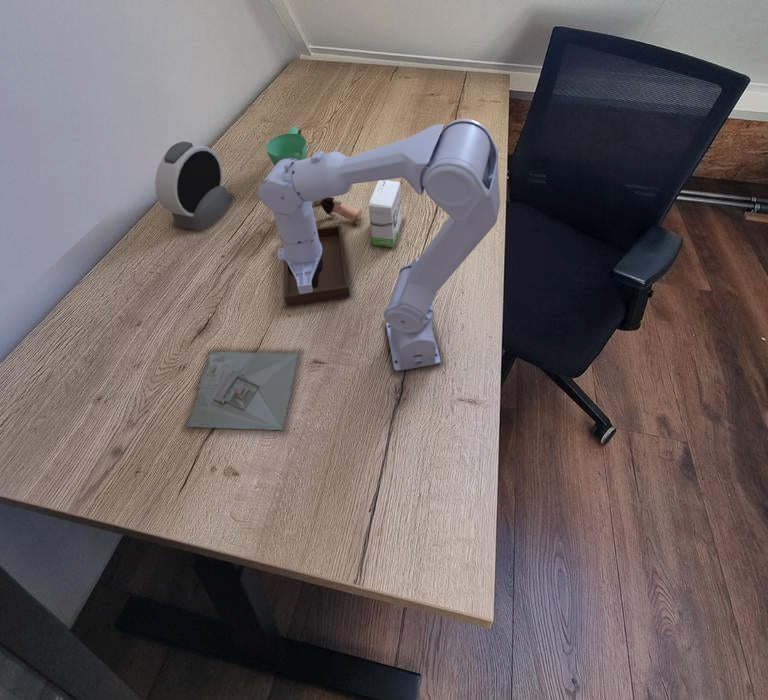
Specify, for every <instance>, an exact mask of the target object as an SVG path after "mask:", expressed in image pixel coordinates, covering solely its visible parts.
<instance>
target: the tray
mask: <svg viewBox="0 0 768 700" xmlns="http://www.w3.org/2000/svg"><path fill="white" fill-rule="evenodd" d="M317 232H318V237H319V241H320V243H321V245H322V258H321V259H323V269H322V271H321V272H320V274H319V283H318V287H317V288H312V289H313V292H310V293H303V294H299V290H298V287H297V281H296V279H295V277H294V276H291V275H290V274H289V271H288V263H287V262H286V260H283V298H284V301H285V305H286V307H292V306H299V305H304V304H305V305H306V304H311V303H317V302H324V301H330V300H336V299H342V298H348V297H349V298H350V297H351V294H350V293H351V292H350V285H349V278H348V270H347V269H348V268H347V261H346V253H345V246H344V238H343V230H342V225H341V224H335V225H328V226H321V227H317Z"/></svg>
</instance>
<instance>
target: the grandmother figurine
mask: <svg viewBox="0 0 768 700" xmlns="http://www.w3.org/2000/svg"><path fill="white" fill-rule="evenodd" d="M311 203H312V207H315V206H317V205H318V206H319V205H320V206H321V207H322V209H323V211H324V212H325V214H326V215H329V216H330V217H332V218H334V217H336V214H338V215H339V216H341V217H343V218H346V219H347V220H349V221H351V222H354V224H355V226H357V225H358V224H359V221H360V220H361V218H362V215H363V213H364V211H365V209H364V208H361V209H358V208H355V207H352V206H350V205H347V204H346V205H345V204H343V202H342V200H340V199H338V198H335V197H329V198H324V199H319V200H314V201H311Z"/></svg>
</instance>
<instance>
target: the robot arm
mask: <svg viewBox="0 0 768 700" xmlns="http://www.w3.org/2000/svg"><path fill="white" fill-rule="evenodd" d="M393 179H405V180H406V182H407V183H408V184H409V185H410V186H411V188H412V189H413V190H414V191H415V192H416V194H418V195H420V196H422V195H423V193H424V192H425V194H426V195H427V196H428V197H429V198H430V200H432V201H433V202H434V204H436V205H437V206H438V207H439V208H440V209H441V210H442V211H444V212H445V213H446V214H447V215H448V217H447V219H446V220H445V222H444V223H443V225H442V226H441V227H440V229H439V230H438V232H437V233H436V234H435V236H434V237H433V238H432V240H431V241H430V243H429V245H427V247H426V248H425V250H424V251H423V252H422V254H421V255H420V257H415V258H414V259H413V260H412V261H411V262H410V263H408V264H405V265H403V266H402V267H400V269H399V272H398V277H397V280H396V283H395V285H394V288H393V291H392V293H391V297H390V299H389V302H388V304H387V307H386V308H385V309H384V312H383V318H384V319H385V321H386V323H385V326H386V333H387V337H388V344H389V348H390V349H389V350H390V353H391V360H392V365H393V369H394V371H395V372H398V371H399V372H400V371H405V370H411V369H416V368H423V367H428V366H435V365H439V364H440V363H441V357H440V353H439V349H438V346H437V342H436V338H435V333H434V330H433V322H434V305H433V302H434V301H435V297H436V295H437V293H438V292H439V290H440V289H441V288H442V287H443V286H444V285H445V283H446V282H447V281H448V280H449V278H450V277H451V276H452V275H454V273H455V272H456V271H457V270H458V268H459V267H460V266H461V265H462V264H463V262H465V260H466V259H467V258H468V257H469V255H470V254H471V253H472V252H473V251H474V250H475V249H476V247H477V246H478V245H479V244H480V243H481V242H482V241H483V239H484V238H485V237H486V236H487V234H488V233H490V231H491V230H492V229H493V228H494V227H495V225H496V224H497V222H498V216H499V211H500V206H501V196H500V184H499V183H500V181H499V148H498V145H497V144H496V142H495V140H494V139H493V136H492V134H491V133H490V131H489V129H487V127H486V126H484V125H483V124H482V123H481V122H478V121H476V120H473V119H469V118H460V119H459V118H458V119H455V120H452V121H450V122H449V123H448V124H446V125H445V124H444V123H439V124H433V125H431V126H429V127H427V128H425V129H422V130H421V131H419V132H417V133H415V134H413V135H411V136H408V137H406V138H403V139H399V140H396V141H393V142H391V143H386V144H384V145H380V146H377V147H374V148H372V149H369V150H366V151H362V152H359V153H357V154H353V155H350V156H346V155H345V154H344V153H341V152H340V151H336V150H335V151H329V152H327V153H326V152H325V153H324V151H323V150H319V151H318V150H317V151H315V152H314V153H313V154H312V156H311V157H306V159H303V160H297V159H292V158H289V159H282V160H280V161H279V162H278V163H277V164H276V165H275V166H273V168H272V169H271V170H270V171H269V173H268V174H267V175H266V177H265V178H264V179H263V180H262V182H261V183H260V185H259V187H258V189H257V194H258V195H257V196H258V198H259V200H260V201H261V203H262V204H263V205H264V206H265V207H266V208H267V209H269V210H270V211H272V214H273V218H274V221H275V225H276V228H277V232H278V234H279V238H280V241H281V244H282V247H281V248H279V249H277V259H278V260H279V261H284V260H286V262H287V263H288V271H289V274H290V275H291V276H294V277H295V279H296V281H297V287H298V290H299V294H303V293H310V292H313V289H312V288H317V287H318V283H319V274H320V272H321V271H322V269H323V259H321V258H322V245H321V243H320V241H319V237H318V232H317V228H318V227H317V222H316V218H315V213H314V208H313V206H312V203H311V201H314V200H319V199H325V198H329V197H330V198H335V197H339V196H344V195H346V194H348V193H349V191H350V190H351V189H352V187H353V184H363V183H370V182H378V180H393Z"/></svg>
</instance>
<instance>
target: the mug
mask: <svg viewBox="0 0 768 700" xmlns="http://www.w3.org/2000/svg"><path fill="white" fill-rule="evenodd" d="M307 150H308V143H307V140H306V138H305V137H304V136H303V135H302V133H301V129H300V128H298V127H296V126H292V127H290V128H289V130H288V133H281V134H277V135H276V136H274V137H272V138H270V139H269V140H268V141H267V143H266V145H265V151H266V153H267V155H268V157H269V159H270V161H271V163H272V164H273V167H275V165H276V164H277V163H278V162H279V161H280V160H282V159H289V158H292V159H297V160H303V159H307V154H308V151H307Z"/></svg>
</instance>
